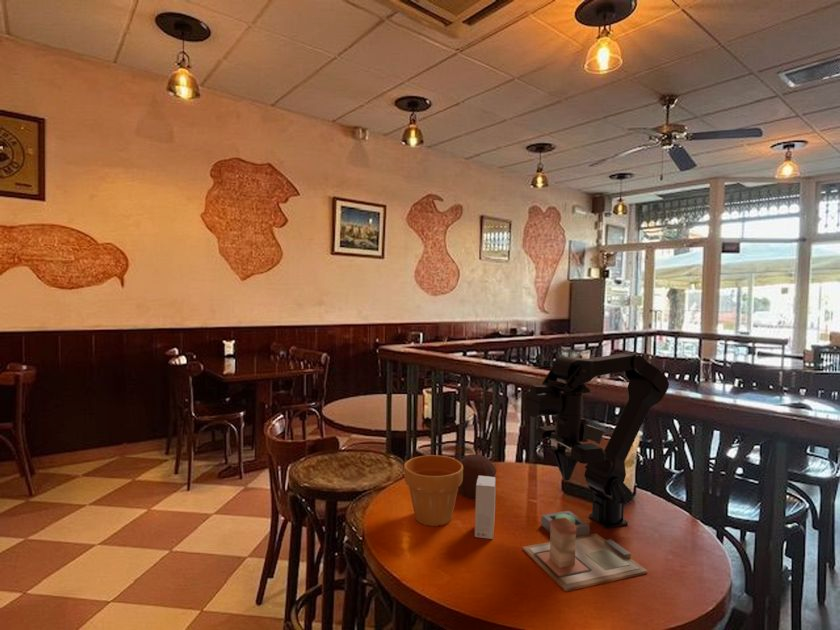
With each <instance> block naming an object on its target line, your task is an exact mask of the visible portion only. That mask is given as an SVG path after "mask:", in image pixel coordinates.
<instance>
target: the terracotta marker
mask: <svg viewBox="0 0 840 630" xmlns="http://www.w3.org/2000/svg"><path fill="white" fill-rule="evenodd" d="M549 534H550V535H549V537H550V538H549V542H550V559H551V560H552V561H553V562H554V563H555V564H556V565H557V566H558V567H559V568H562V567H567V566H572V565H575V543H576V525H575V524H573V523H572V522H571V521H569V520H568V519H567V518H560V519H554V520H550V532H549Z"/></svg>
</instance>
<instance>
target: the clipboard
mask: <svg viewBox="0 0 840 630" xmlns="http://www.w3.org/2000/svg"><path fill="white" fill-rule="evenodd" d="M522 550H523V551H524V552H525V553H526V554H527V555H528V556H529V558H531V559H532V560H533V561H534V562H535V563H536V564H537V565H538V566H539V567H540V569H542V570H543V571H544V572H545V573H546V574H547V575H548V576H549V577H550V578H551V579H552V580H553V581H554V582H555V583H556V584H557V585H558V586H560V588H561V589H562V590H563V591H564V592H569V591H575V590H579V589H582V588H588V587H593V586H595V585H601V584H605V583H610V582H614V581H620V580H624V579H628V578H631V577H633V578H634V577H638V576H641V575H646V574H648V570H647V569H646V568H644V567H643V566H642V565H640V564H639V563H638V562H636V561H635V560H634V559H632V558H631V556H632V554H631V552H629V551H628V550H626V549H625V548H624V547H622V546H620V545H619V544H618V543H617V542H615V541H614V540H612V539H610V538H608V539H604V537H602V536H600V535H599V534H598V533H591V534H590V535H585V536H580V537H576V543H575V565H572V566H567V567H562V568H559V567H558V566H557V565H556V564H555V563H554V562H553V561H552V560H551V559H550V541H548V542H542V543H536V544H531V545H527V546H522ZM645 573H646V574H645Z"/></svg>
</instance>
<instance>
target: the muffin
mask: <svg viewBox="0 0 840 630" xmlns="http://www.w3.org/2000/svg"><path fill="white" fill-rule="evenodd" d="M458 461H459V462H461V464H462V465H463V481H462V484H461V485H460V486H459V487H458V494H460V495H461V496H462V497H463V498H467V499H468V500H469V499H470V500H473V501H474V500H476V484H477V479H478V476H479V475H480V476H489V477H495V476H496V474H497V472H498V471H497V468H496V467H495V466H494V464H493V462H492V461H491V460H490V459H488V458H487V457H485V456H484V455H482V454H474V453H473V454H468V455H465V456H464V457H462V458H461V459H460V460H458Z"/></svg>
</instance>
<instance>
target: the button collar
mask: <svg viewBox="0 0 840 630" xmlns="http://www.w3.org/2000/svg"><path fill="white" fill-rule="evenodd" d="M558 514H567V515H571V516H573V517H574V518H575V525H576V537H580V536H585V535H591V534H590V532H591V529H590V527H591V526H590V525H589V523H587V522H585V520H583V519H581V518H580V517H579V516H577V515H576V514H574V512H571V511H570V510H565V511H558V512H553V513H546V514H541V526H542V527H543V528H544V529H545V530H546V531H547V532H549V533H550V520H554V519H555V517H556V515H558Z"/></svg>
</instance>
